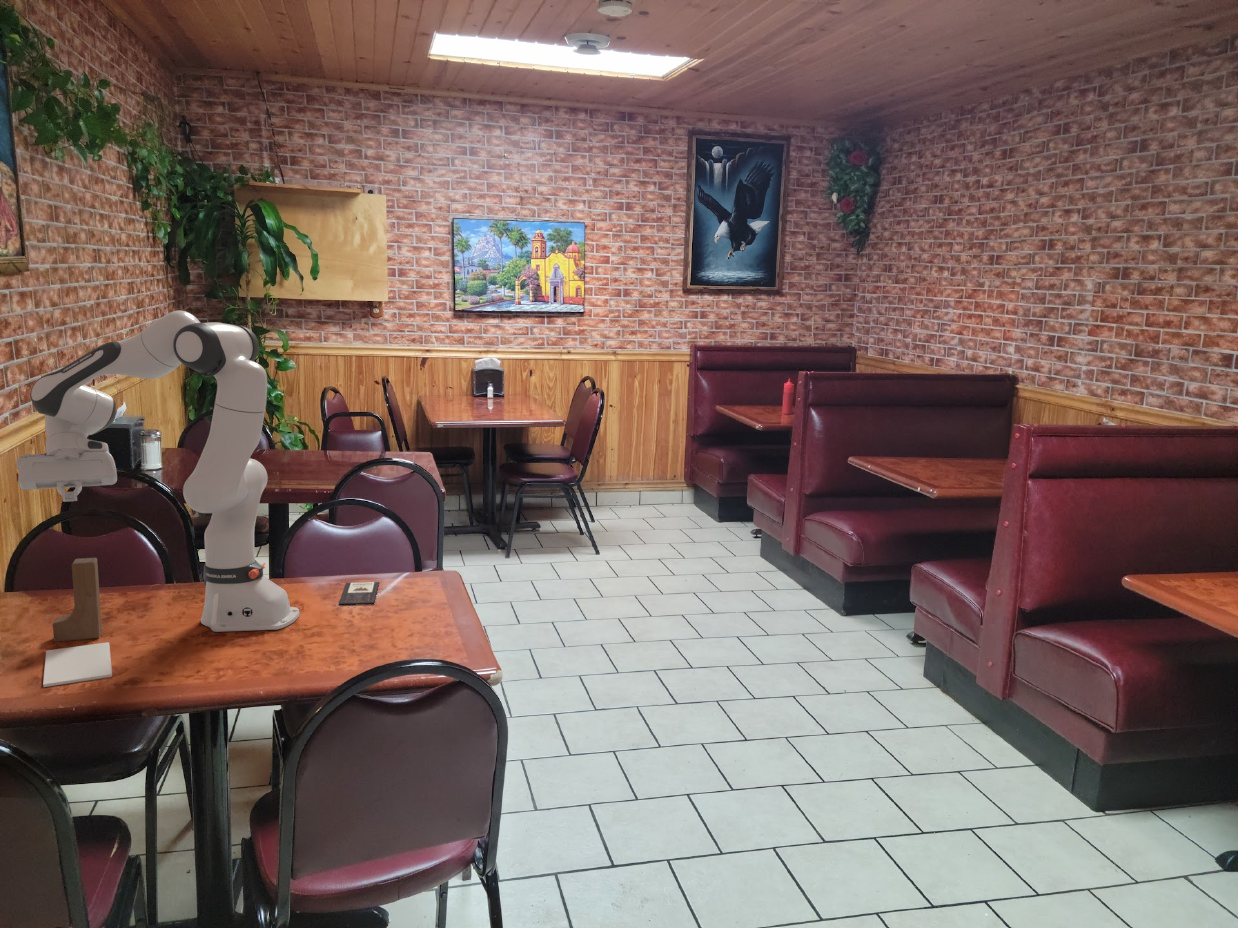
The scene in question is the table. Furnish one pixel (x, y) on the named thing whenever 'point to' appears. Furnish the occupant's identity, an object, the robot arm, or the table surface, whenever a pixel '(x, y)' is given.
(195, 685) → the table surface
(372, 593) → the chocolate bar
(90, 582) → the wooden block
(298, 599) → the table surface
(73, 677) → the white board
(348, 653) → the table surface
